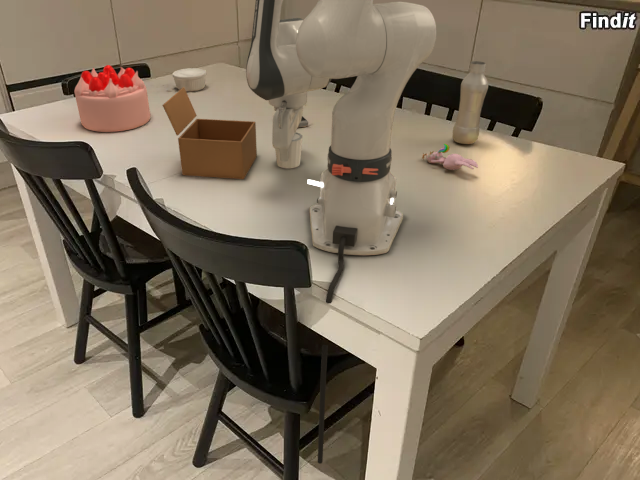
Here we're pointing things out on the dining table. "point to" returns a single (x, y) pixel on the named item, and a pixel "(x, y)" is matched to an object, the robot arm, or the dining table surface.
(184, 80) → the ramekin
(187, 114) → the flap
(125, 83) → the cake
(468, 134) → the plastic bottle
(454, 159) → the pink elongated figure
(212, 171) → the carton
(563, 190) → the dining table surface
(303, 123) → the cell phone
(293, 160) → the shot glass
